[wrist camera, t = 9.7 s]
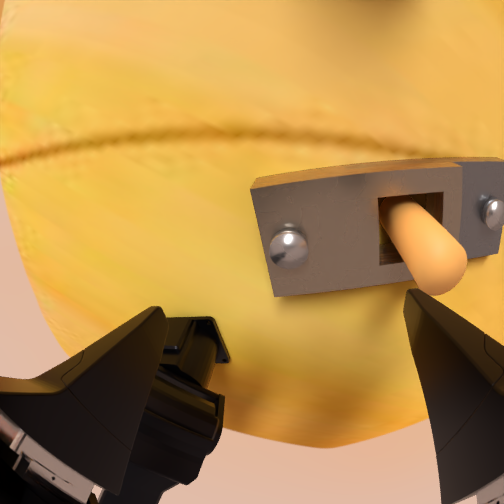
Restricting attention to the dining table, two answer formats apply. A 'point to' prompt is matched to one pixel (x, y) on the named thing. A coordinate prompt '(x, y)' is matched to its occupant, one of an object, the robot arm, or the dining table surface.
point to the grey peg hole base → (468, 202)
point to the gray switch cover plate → (343, 223)
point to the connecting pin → (423, 245)
